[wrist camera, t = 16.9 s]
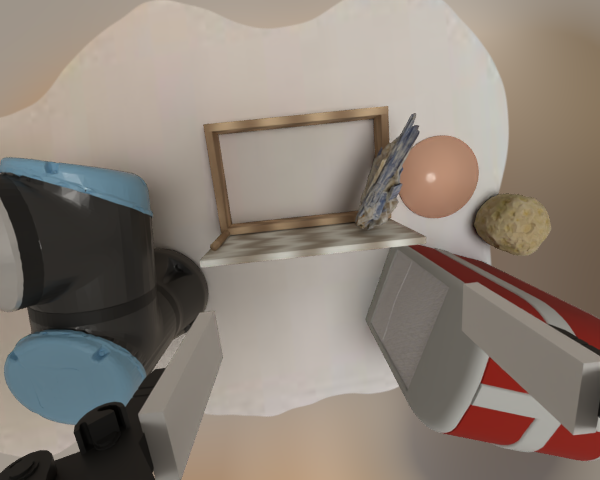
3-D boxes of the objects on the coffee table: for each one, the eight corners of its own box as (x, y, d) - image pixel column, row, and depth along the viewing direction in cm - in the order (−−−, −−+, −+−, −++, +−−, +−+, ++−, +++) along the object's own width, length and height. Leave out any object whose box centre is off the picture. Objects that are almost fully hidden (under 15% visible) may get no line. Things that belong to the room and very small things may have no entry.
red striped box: (393, 237, 51) (506, 310, 25) (487, 261, 53) (686, 355, 26) (363, 322, 55) (434, 466, 28) (452, 343, 56) (596, 497, 30)
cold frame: (227, 236, 50) (200, 267, 34) (210, 128, 46) (170, 108, 30) (383, 220, 50) (426, 243, 35) (379, 111, 46) (426, 82, 31)
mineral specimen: (343, 225, 43) (370, 237, 43) (360, 215, 34) (393, 230, 35) (381, 136, 44) (407, 148, 45) (406, 105, 36) (437, 120, 36)
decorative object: (482, 187, 53) (476, 194, 45) (555, 193, 47) (564, 202, 40) (472, 238, 56) (466, 253, 48) (540, 248, 50) (546, 267, 42)
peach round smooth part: (398, 221, 50) (399, 222, 50) (396, 140, 47) (397, 139, 47) (474, 213, 51) (476, 213, 50) (477, 131, 47) (480, 131, 47)
